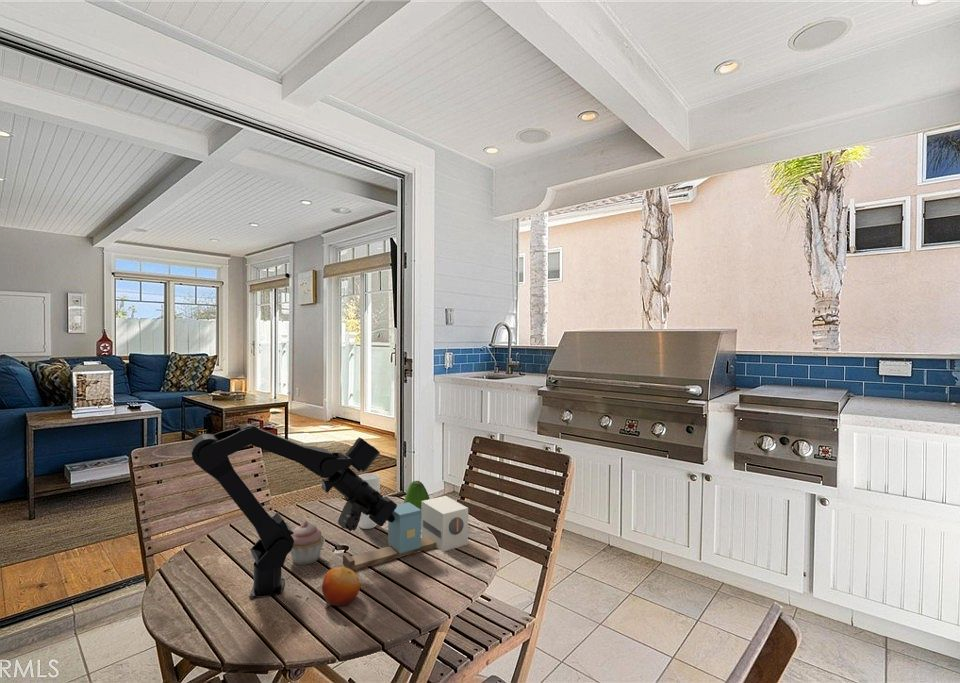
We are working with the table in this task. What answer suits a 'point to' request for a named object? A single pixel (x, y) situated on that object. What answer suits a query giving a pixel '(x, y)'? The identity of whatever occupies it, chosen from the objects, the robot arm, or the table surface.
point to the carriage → (405, 528)
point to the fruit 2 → (416, 494)
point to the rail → (382, 555)
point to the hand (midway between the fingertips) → (393, 520)
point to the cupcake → (306, 543)
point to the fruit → (340, 586)
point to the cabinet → (444, 522)
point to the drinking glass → (375, 484)
